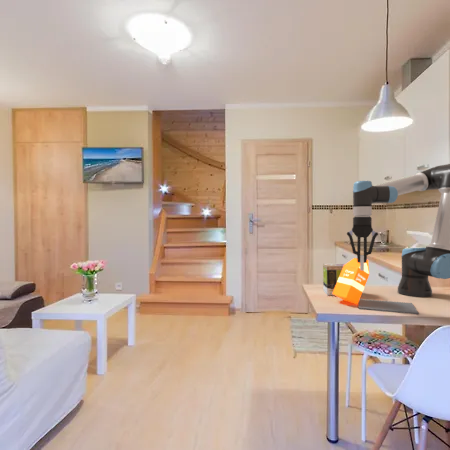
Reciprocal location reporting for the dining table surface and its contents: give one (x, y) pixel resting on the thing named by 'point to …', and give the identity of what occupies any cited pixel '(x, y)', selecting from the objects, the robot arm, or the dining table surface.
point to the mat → (387, 306)
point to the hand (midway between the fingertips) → (361, 270)
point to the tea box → (331, 276)
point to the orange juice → (351, 281)
